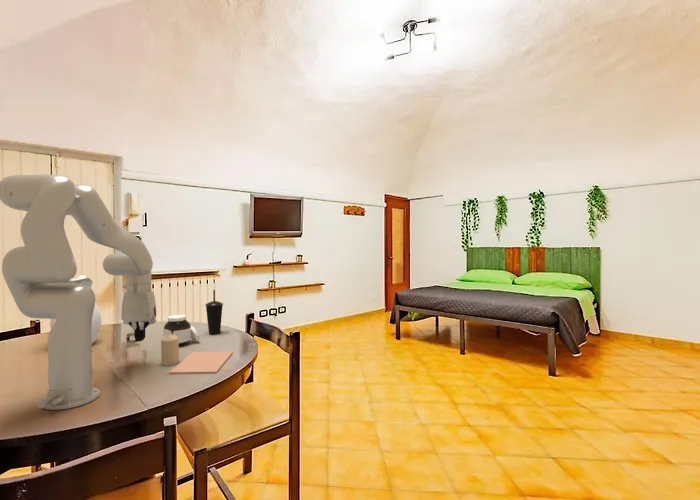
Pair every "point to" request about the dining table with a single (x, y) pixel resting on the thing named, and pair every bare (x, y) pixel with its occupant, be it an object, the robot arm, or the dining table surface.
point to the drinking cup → (214, 316)
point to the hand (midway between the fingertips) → (140, 340)
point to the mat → (202, 363)
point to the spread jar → (181, 329)
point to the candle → (170, 349)
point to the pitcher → (96, 313)
